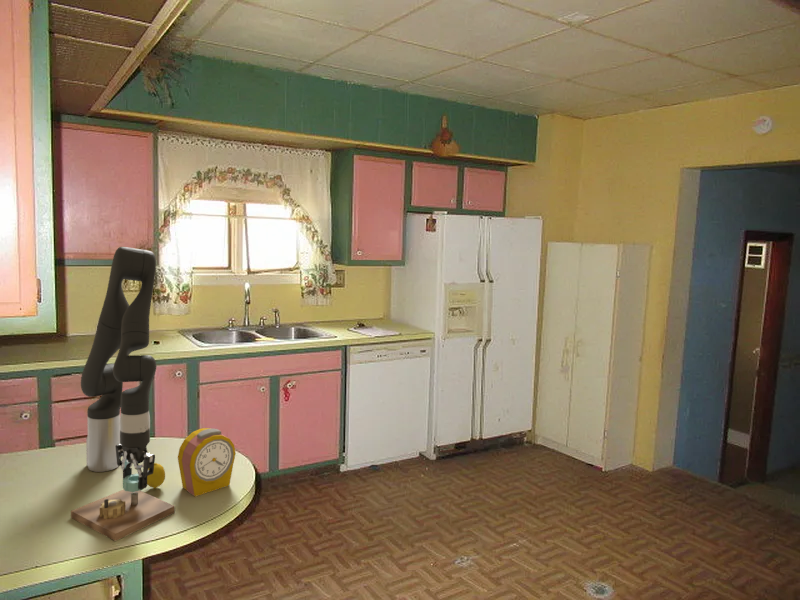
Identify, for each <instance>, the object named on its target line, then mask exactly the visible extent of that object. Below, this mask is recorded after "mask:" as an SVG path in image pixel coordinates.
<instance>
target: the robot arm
mask: <svg viewBox="0 0 800 600" xmlns="http://www.w3.org/2000/svg"><path fill="white" fill-rule="evenodd" d="M156 267H157V258H156V255H155V253H154V252H153V251H151V250H148V249H147V250H146V249H140V248H134V247H127V246H119V247H118V248H116V250H115V252H114V253H113V258H112V262H111V266H110V272H109V273H110V274H109V278H108V284H107V290H106V294H105V298H104V301H103V305H102V308H101V312H100V315H99V317H98V320H97V321H98V322H97V324H96V325H97V326H96V329H95V334H94V338H93V342H92V346H91V349H90V353H89V355H88V357H87V359H86V362H85V365H84V367H83V369H82V374H81V377H80V388H81V391H82V393H83V394H84V395H85V397H89V398H91V397H92V398H93V397H100V398H99V399H97V400H96V401H94V402H93V403H91V404H90V405H89V406H88V407H87V410H86V411H87V412H86V413H87V414H86V415H87V437H86V466H87V469H88V470H89V471H91V472H99V473H101V472H108V471H112V470H114V469H118V467H120V469H121V470H122V479H123V478H125V477H127V476H128V475H132V474H133V472H132V471H133V467H134V469H135V470H136V471H137V474H138V475H139V477H138V489H140V490H141V491H142V489H143V490H144V489H146V488H147V486H148V484H147V476H148V475H151V474H153V471H154V463H156V462H155V460H156V455H155V454H154V453H151V454H150V453H148V449H147V446H148V445H149V444H150V441H151V416H150V392H151V388H152V384H153V380H154V378H155V375H156V372H157V371H156V370H157V362H156V360H155V358H154V357H153V356H152V355H150V354H140V355H135V354H134V355H131V353H132V352H135V351H139V350H143V349H145V348H148V346H149V345H150V314H151V306H152V300H153V293H154V286H155V279H156V278H155V277H156V272H157V271H156V270H157V268H156ZM124 280H125V281H126V280H127V281H136V282H141V285H140V289H139V292H138V293H137V295H136V297H135V298H134V299H133V301H132V302H131V303H130V304H129V302H128V300H127V299H126V296H125V293H124V289H123V288H122V287H123V285H122V284H123V281H124ZM116 353H117V356H116V358H115V361H114V363H108V362H109V361H110V359H111V358H112V357H113V356H114V355H116ZM134 382H135V383H136V382H141V383H140V384H139V385H138V386H134V387H131V388H128V389H125V390H124V391H123V389H124V388H123V387H124V386H123V385H124V383H134ZM132 466H133V467H132ZM148 469H149V470H148Z"/></svg>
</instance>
